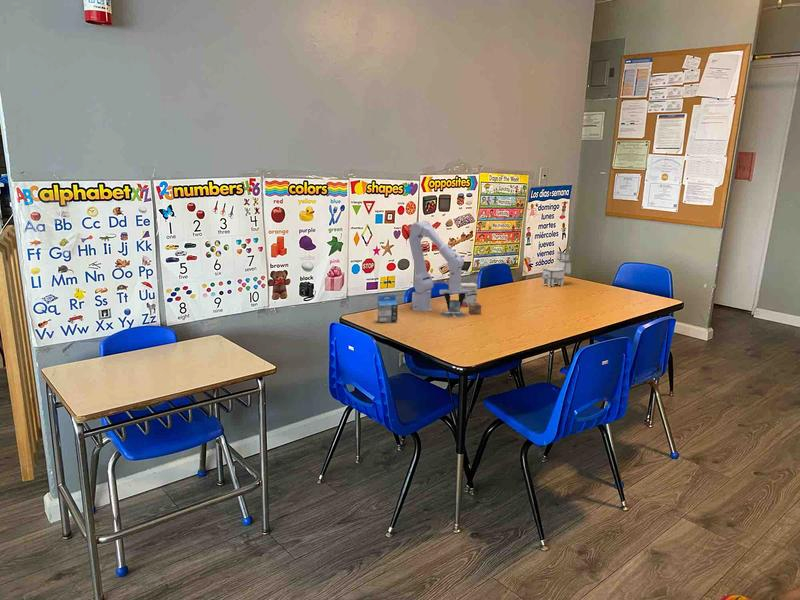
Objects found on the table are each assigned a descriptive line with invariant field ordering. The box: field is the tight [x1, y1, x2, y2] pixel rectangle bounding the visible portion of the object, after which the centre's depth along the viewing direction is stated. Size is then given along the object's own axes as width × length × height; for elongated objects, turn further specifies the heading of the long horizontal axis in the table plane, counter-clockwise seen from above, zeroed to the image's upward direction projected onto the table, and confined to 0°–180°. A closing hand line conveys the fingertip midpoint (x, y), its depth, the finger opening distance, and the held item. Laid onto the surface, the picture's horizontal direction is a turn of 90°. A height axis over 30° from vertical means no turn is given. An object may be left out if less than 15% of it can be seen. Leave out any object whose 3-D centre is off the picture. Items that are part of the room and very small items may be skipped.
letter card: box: [441, 311, 466, 318], centre depth 293 cm, size 10×10×1 cm
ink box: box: [461, 282, 478, 308], centre depth 308 cm, size 8×5×12 cm, turn 99°
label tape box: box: [377, 294, 399, 323], centre depth 277 cm, size 9×4×12 cm, turn 105°
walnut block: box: [468, 302, 482, 316], centre depth 295 cm, size 5×5×5 cm
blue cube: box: [447, 299, 461, 313], centre depth 291 cm, size 5×5×5 cm
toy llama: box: [541, 250, 573, 286], centre depth 361 cm, size 8×18×20 cm, turn 117°
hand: (453, 308), depth 292 cm, fingers closed on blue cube, 5 cm apart
